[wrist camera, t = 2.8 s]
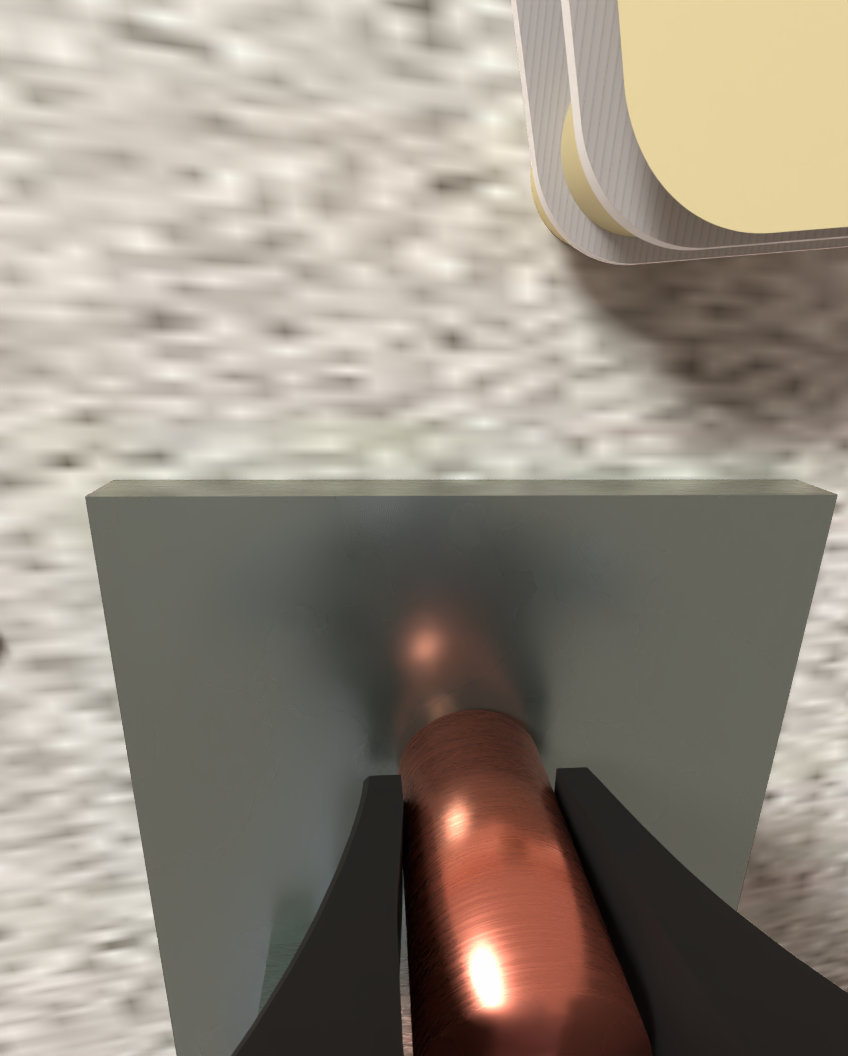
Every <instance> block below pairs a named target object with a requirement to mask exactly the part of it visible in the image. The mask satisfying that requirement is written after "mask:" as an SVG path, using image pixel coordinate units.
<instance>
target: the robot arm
mask: <svg viewBox="0 0 848 1056" xmlns="http://www.w3.org/2000/svg"><path fill="white" fill-rule="evenodd" d="M554 794H555V796H556V799H557V802H558V804H559V807H560V809H561V812H562V815H563V817H564V820H565V822H566V825H567V828H568V830H569V833H570V835H571V838H572V841H573V843H574V846H575V848H576V851H577V853H578V856H579V859H580V861H581V864H582V866H583V869H584V872H585V874H586V877H587V879H588V882H589V885H590V887H591V890H592V892H593V895H594V898H595V900H596V903H597V905H598V908H599V910H600V913H601V916H602V918H603V921H604V923H605V926H606V929H607V931H608V934H609V936H610V939H611V942H612V944H613V947H614V949H615V952H616V955H617V957H618V960H619V962H620V965H621V967H622V970H623V973H624V975H625V978H626V980H627V983H628V986H629V988H630V991H631V993H632V996H633V999H634V1001H635V1004H636V1006H637V1009H638V1012H639V1014H640V1017H641V1019H642V1022H643V1024H644V1027H645V1030H646V1032H647V1035H648V1037H649V1041H650V1044H651V1048H652V1056H848V993H847V992H845V991H844V990H842V989H841V988H839V987H838V986H836V985H835V984H833V983H832V982H830V981H829V980H828V979H826V978H825V977H823V976H822V975H820V974H819V973H818V972H816V971H815V970H813V969H812V968H810V967H809V966H808V965H806V964H805V963H803V962H802V961H800V960H799V959H797V958H796V957H795V956H793V955H792V954H791V953H789V952H788V951H787V950H785V949H784V948H783V947H781V946H780V945H778V944H777V943H776V942H774V941H773V940H772V939H771V938H769V937H768V936H767V935H766V934H764V933H763V932H762V931H760V930H759V929H758V928H757V927H755V926H754V925H753V924H752V923H750V922H749V921H748V920H746V919H745V918H744V917H743V916H741V915H740V914H739V913H738V912H736V911H735V910H734V909H733V908H732V907H730V906H729V905H728V904H727V903H726V902H724V901H723V900H722V899H721V898H720V897H718V896H717V895H716V894H715V893H714V892H713V891H712V890H710V889H709V888H708V887H707V886H706V885H705V884H704V883H703V882H702V881H700V880H699V879H698V878H697V877H696V876H695V875H694V874H693V873H691V872H690V871H689V870H688V869H687V868H686V867H685V866H684V865H683V864H682V863H681V862H680V861H678V860H677V859H676V858H675V857H674V856H673V855H672V854H671V853H670V852H669V851H668V850H667V849H666V848H665V847H664V846H663V845H662V844H661V843H660V842H659V841H658V840H657V839H656V838H655V837H654V836H653V835H652V834H651V833H650V832H649V831H648V830H647V829H646V828H645V827H644V826H643V825H642V824H641V823H640V822H639V821H638V820H637V819H636V818H635V817H634V816H633V815H632V814H631V813H630V812H629V811H628V810H627V809H626V807H625V806H624V805H623V804H622V803H621V802H620V801H619V800H618V799H617V798H616V797H615V796H614V795H613V794H612V793H611V792H610V791H609V790H608V788H607V787H606V786H605V785H604V784H603V783H602V782H601V781H600V780H599V779H598V778H597V777H596V776H595V775H594V774H593V773H592V772H591V771H590V770H589V769H588V768H587V767H577V768H557V769H556V779H555V788H554ZM402 902H403V791H402V781H401V774H400V775H375V776H368V777H367V778H366V779H365V780H364V781H363V788H362V794H361V798H360V803H359V807H358V810H357V814H356V817H355V820H354V823H353V827H352V830H351V833H350V836H349V838H348V841H347V843H346V846H345V849H344V851H343V854H342V856H341V859H340V862H339V864H338V867H337V869H336V872H335V874H334V876H333V878H332V881H331V883H330V885H329V887H328V889H327V891H326V894H325V896H324V898H323V900H322V902H321V905H320V907H319V909H318V911H317V913H316V915H315V917H314V919H313V921H312V923H311V925H310V927H309V929H308V931H307V933H306V935H305V937H304V939H303V940H302V942H301V944H300V946H299V948H298V950H297V951H296V953H295V955H294V957H293V959H292V960H291V962H290V964H289V966H288V968H287V969H286V971H285V973H284V974H283V976H282V978H281V979H280V981H279V983H278V984H277V986H276V987H275V989H274V991H273V992H272V994H271V996H270V997H269V999H268V1001H267V1002H266V1004H265V1006H264V1007H263V1009H262V1010H261V1012H260V1013H259V1015H258V1017H257V1018H256V1020H255V1021H254V1023H253V1024H252V1026H251V1027H250V1029H249V1030H248V1032H247V1033H246V1035H245V1036H244V1038H243V1039H242V1040H241V1042H240V1043H239V1045H238V1046H237V1048H236V1049H235V1050H234V1052H233V1053H232V1055H231V1056H404V1052H403V1034H402V1015H401V995H400V958H401V935H402Z"/></svg>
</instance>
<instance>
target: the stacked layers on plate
mask: <svg viewBox="0 0 848 1056" xmlns="http://www.w3.org/2000/svg"><path fill="white" fill-rule="evenodd" d="M511 4H512V12H513V20H514V28H515V36H516V44H517V52H518V60H519V68H520V76H521V84H522V92H523V100H524V108H525V116H526V124H527V132H528V140H529V148H530V156H531V189H532V195H533V199H534V203H535V206H536V208H537V211H538V213H539V215H540V217H541V219H542V220H543V222H544V223H545V225H546V226H547V227H548V229H549V230H550V231H551V232H552V233H553V234H554V235H555V236H556V237H558V238H559V239H560V240H562V241H563V242H565V243H567V244H569V245H571V246H573V247H574V248H575V249H577V250H578V251H580V252H581V253H583V254H585V255H587V256H589V257H591V258H593V259H596V260H599V261H602V262H605V263H610V264H616V265H637V264H649V263H662V262H674V261H686V260H698V259H710V258H722V257H734V256H747V255H759V254H771V253H783V252H795V251H807V250H819V249H832V248H844V247H848V0H511Z"/></svg>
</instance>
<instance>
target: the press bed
mask: <svg viewBox="0 0 848 1056" xmlns="http://www.w3.org/2000/svg"><path fill="white" fill-rule="evenodd" d="M85 499H86V505H87V511H88V517H89V523H90V529H91V535H92V541H93V548H94V554H95V560H96V566H97V572H98V578H99V584H100V590H101V596H102V602H103V609H104V615H105V621H106V627H107V633H108V639H109V645H110V651H111V657H112V663H113V670H114V676H115V682H116V688H117V694H118V700H119V706H120V712H121V718H122V725H123V731H124V737H125V743H126V749H127V755H128V761H129V767H130V773H131V779H132V786H133V792H134V798H135V804H136V810H137V816H138V822H139V828H140V834H141V840H142V847H143V853H144V859H145V865H146V871H147V877H148V883H149V889H150V895H151V902H152V908H153V914H154V920H155V926H156V932H157V938H158V944H159V950H160V956H161V963H162V969H163V975H164V981H165V987H166V993H167V999H168V1005H169V1011H170V1018H171V1024H172V1030H173V1036H174V1042H175V1048H176V1054H177V1056H231V1055H232V1053H233V1052H234V1050H235V1049H236V1048H237V1046H238V1045H239V1043H240V1042H241V1040H242V1039H243V1038H244V1036H245V1035H246V1033H247V1032H248V1030H249V1029H250V1027H251V1026H252V1024H253V1023H254V1021H255V1020H256V1018H257V1017H258V1015H259V1013H260V1012H261V1010H262V1009H263V1007H264V1006H265V1004H266V1002H267V1001H268V999H269V997H270V996H271V994H272V992H273V991H274V989H275V987H276V986H277V984H278V983H279V981H280V979H281V978H282V976H283V974H284V973H285V971H286V969H287V968H288V966H289V964H290V962H291V960H292V959H293V957H294V955H295V953H296V951H297V950H298V948H299V946H300V944H301V942H302V940H303V939H304V937H305V935H306V933H307V931H308V929H309V927H310V925H311V923H312V921H313V919H314V917H315V915H316V913H317V911H318V909H319V907H320V905H321V902H322V900H323V898H324V896H325V894H326V891H327V889H328V887H329V885H330V883H331V881H332V878H333V876H334V874H335V872H336V869H337V867H338V864H339V862H340V859H341V856H342V854H343V851H344V849H345V846H346V843H347V841H348V838H349V836H350V833H351V830H352V827H353V823H354V820H355V817H356V814H357V810H358V807H359V803H360V798H361V794H362V788H363V781H364V780H365V779H366V778H367V777H368V776H375V775H398V767H399V762H400V758H401V755H402V753H403V751H404V749H405V747H406V745H407V744H408V742H409V741H410V740H411V738H412V737H413V736H414V735H415V734H416V733H417V732H418V731H419V730H420V729H421V728H423V727H424V726H425V725H427V724H428V723H430V722H432V721H433V720H435V719H437V718H439V717H442V716H444V715H447V714H450V713H453V712H458V711H464V710H485V711H492V712H495V713H499V714H502V715H504V716H507V717H509V718H511V719H512V720H514V721H516V722H517V723H518V724H520V725H521V726H522V727H523V728H524V729H525V730H526V731H527V732H528V733H529V735H530V736H531V737H532V739H533V741H534V743H535V745H536V747H537V750H538V752H539V755H540V758H541V760H542V763H543V765H544V768H545V771H546V773H547V776H548V778H549V781H550V784H551V786H552V789H553V791H554V788H555V779H556V769H557V768H577V767H587V768H588V769H589V770H590V771H591V772H592V773H593V774H594V775H595V776H596V777H597V778H598V779H599V780H600V781H601V782H602V783H603V784H604V785H605V786H606V787H607V788H608V790H609V791H610V792H611V793H612V794H613V795H614V796H615V797H616V798H617V799H618V800H619V801H620V802H621V803H622V804H623V805H624V806H625V807H626V809H627V810H628V811H629V812H630V813H631V814H632V815H633V816H634V817H635V818H636V819H637V820H638V821H639V822H640V823H641V824H642V825H643V826H644V827H645V828H646V829H647V830H648V831H649V832H650V833H651V834H652V835H653V836H654V837H655V838H656V839H657V840H658V841H659V842H660V843H661V844H662V845H663V846H664V847H665V848H666V849H667V850H668V851H669V852H670V853H671V854H672V855H673V856H674V857H675V858H676V859H677V860H678V861H680V862H681V863H682V864H683V865H684V866H685V867H686V868H687V869H688V870H689V871H690V872H691V873H693V874H694V875H695V876H696V877H697V878H698V879H699V880H700V881H702V882H703V883H704V884H705V885H706V886H707V887H708V888H709V889H710V890H712V891H713V892H714V893H715V894H716V895H717V896H718V897H720V898H721V899H722V900H723V901H724V902H726V903H727V904H728V905H729V906H730V907H732V908H733V909H734V910H735V911H737V907H738V903H739V899H740V895H741V891H742V887H743V882H744V878H745V874H746V870H747V866H748V862H749V858H750V854H751V849H752V845H753V841H754V837H755V833H756V829H757V825H758V821H759V816H760V812H761V808H762V804H763V800H764V796H765V792H766V788H767V783H768V779H769V775H770V771H771V767H772V763H773V759H774V755H775V750H776V746H777V742H778V738H779V734H780V730H781V726H782V722H783V717H784V713H785V709H786V705H787V701H788V697H789V693H790V689H791V684H792V680H793V676H794V672H795V668H796V664H797V660H798V656H799V652H800V647H801V643H802V639H803V635H804V631H805V627H806V623H807V619H808V614H809V610H810V606H811V602H812V598H813V594H814V590H815V586H816V581H817V577H818V573H819V569H820V565H821V561H822V557H823V553H824V548H825V544H826V540H827V536H828V532H829V528H830V524H831V520H832V515H833V511H834V507H835V503H836V499H837V494H834V493H832V492H829V491H826V490H823V489H820V488H818V487H815V486H812V485H809V484H807V483H804V482H801V481H798V480H113V481H111V482H109V483H108V484H106V485H104V486H103V487H101V488H99V489H97V490H96V491H94V492H92V493H91V494H89V495H87V496H86V497H85ZM401 956H408V953H407V935H406V916H405V897H404V878H403V902H402V935H401Z"/></svg>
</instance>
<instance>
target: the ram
mask: <svg viewBox="0 0 848 1056" xmlns="http://www.w3.org/2000/svg"><path fill="white" fill-rule="evenodd" d="M400 774H401V781H402V791H403V878H404V897H405V916H406V935H407V953H408V956H401V958H400V995H401V1015H402V1034H403V1052H404V1056H652V1048H651V1044H650V1041H649V1037H648V1035H647V1032H646V1030H645V1027H644V1024H643V1022H642V1019H641V1017H640V1014H639V1012H638V1009H637V1006H636V1004H635V1001H634V999H633V996H632V993H631V991H630V988H629V986H628V983H627V980H626V978H625V975H624V973H623V970H622V967H621V965H620V962H619V960H618V957H617V955H616V952H615V949H614V947H613V944H612V942H611V939H610V936H609V934H608V931H607V929H606V926H605V923H604V921H603V918H602V916H601V913H600V910H599V908H598V905H597V903H596V900H595V898H594V895H593V892H592V890H591V887H590V885H589V882H588V879H587V877H586V874H585V872H584V869H583V866H582V864H581V861H580V859H579V856H578V853H577V851H576V848H575V846H574V843H573V841H572V838H571V835H570V833H569V830H568V828H567V825H566V822H565V820H564V817H563V815H562V812H561V809H560V807H559V804H558V802H557V799H556V796H555V794H554V791H553V789H552V786H551V784H550V781H549V778H548V776H547V773H546V771H545V768H544V765H543V763H542V760H541V758H540V755H539V752H538V750H537V747H536V745H535V743H534V741H533V739H532V737H531V736H530V735H529V733H528V732H527V731H526V730H525V729H524V728H523V727H522V726H521V725H520V724H518V723H517V722H516V721H514V720H512V719H511V718H509V717H507V716H504V715H502V714H499V713H495V712H492V711H485V710H464V711H458V712H453V713H450V714H447V715H444V716H442V717H439V718H437V719H435V720H433V721H432V722H430V723H428V724H427V725H425V726H424V727H423V728H421V729H420V730H419V731H418V732H417V733H416V734H415V735H414V736H413V737H412V738H411V740H410V741H409V742H408V744H407V745H406V747H405V749H404V751H403V753H402V755H401V758H400V762H399V767H398V775H400Z"/></svg>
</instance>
